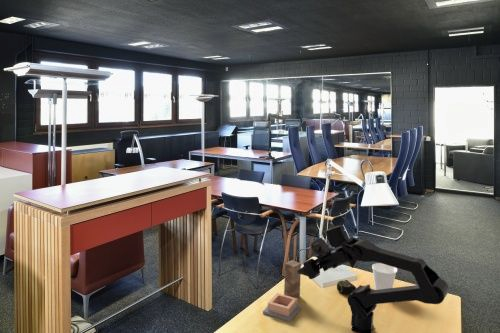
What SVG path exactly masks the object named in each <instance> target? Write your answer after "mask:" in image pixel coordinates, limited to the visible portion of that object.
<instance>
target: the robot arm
mask: <svg viewBox="0 0 500 333" xmlns="http://www.w3.org/2000/svg"><path fill="white" fill-rule="evenodd" d="M324 234H325V236H326V238H327V241H328V243H329V244H328V243H327V242H326V241H325V239H323V237H318V238H316V239H315V240H314V241H313V242H311V243H310V248H311V250H312V252H314V253H316V254H318V255H316V259H314V258H310V259H307V260H305V261H304V262H303V264H302V266H301V269H299V270H298V271H297V272H298V273H299V274H301V275H303V276H306V277H308V279H309V280H312V279H313V280H314V279H315V278H317V277H319V276H320V275H321V271H320V270H322V269H323V272H326V271H328V270H330V269H336V268H337V267H339V266H343V265H346V264H349V265H350V267H351V268H352V269H354V268H355V267H356V266H358V262H362V263H363V262H364V263H369V262H370V263H371V262H375V263H382V264H385V265H389V266H392V267H395V268H397V269H398V270H403V271H406V272H409V273H411V274H412V275H413V276H414V279H415V281H416V284H415V285H408V286H406V285H405V286H399V287H398V286H397V287H392V288H388V289H379V290H375V288H374V289H373V288H372V287H371V285H370V284H366V285H362V284H360V285H358V287H356V289H355V290H354V291H353V292H352V293H351V294H348V296H347V303H348V306H349V308H350V312H351V320H350V326H351V331H353V332H355V333H373V330H374V315H375V314H374V311H375V309H376V308H377V306H378V305H380V304H390V303H402V302H405V303H406V302H414V301H417V302H420V303H423V304H429V305H439V304H442V303H443V302H444V300H445V298H446V297H447V295H448V294H449V290H450V288H449V287H450V286H449V284H448V283H447V282H446V281H445V280H444V279H443V278H441V277H440V275H439V274H438V273H437V272H436V271H435V270H434V269H432V268H431V267H430V266H429V265H428V264H427V262H426V261H425V260H424V259H423V258H420V257H413V256H410V255H406V254H402V253H399V252H395V251H391V250H389V249H388V250H387V249H384V248H381V247H378V246H377V245H376V244H375V243H374V242H373V243H372V242H370V241H369V240H366V239H357V238H355V237H351V236H350V237H348V235H347V233H346V231H345V229H344V226H343V225H342V224H340V225H336V226H333V227H331V228H329V229H326V230H324ZM329 245H330V246H329Z"/></svg>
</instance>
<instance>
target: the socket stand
mask: <svg viewBox="0 0 500 333" xmlns="http://www.w3.org/2000/svg"><path fill="white" fill-rule="evenodd" d="M301 309H302V304H299V303H298V297H297V298H294V297H290V296H286V295H284V294H282V293H279V292H277V293H275V295H274V296H273V297H272V298H271V299H270V300H269V301H268V302H267V306H266V307H265V308H264V310H262V314H263V315H267V316H270V317H272V318H276V319H280V320H283V321H285V322H286V321H287V322H290V323H291V322H292V321H293V319H294V318H295V317H296V315H297V314H298V313H299V311H300V310H301Z"/></svg>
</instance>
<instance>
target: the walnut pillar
mask: <svg viewBox="0 0 500 333" xmlns="http://www.w3.org/2000/svg"><path fill="white" fill-rule="evenodd" d="M301 268H302V263H300V262H298V261H295V260H293V259H292V260H289V261H287V262H285V263H284V284H283V285H284V288H283V289H284V291H283V295H286V296H290V297H294V298H297V299H298V298H299V297H300V296H301V275H302V274H299V273H298V272H297V271H298V270H299V269H301Z"/></svg>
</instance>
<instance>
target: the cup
mask: <svg viewBox="0 0 500 333" xmlns="http://www.w3.org/2000/svg"><path fill="white" fill-rule="evenodd" d="M371 268H372V274H373V275H372V276H373V283H374V290H379V289H388V288H394V283H395V279H396V276H397V275H396V274H397V273H398V268H395V267H392V266H389V265H385V264H382V263H379V262H375V263H373V264H372V265H371Z"/></svg>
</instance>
